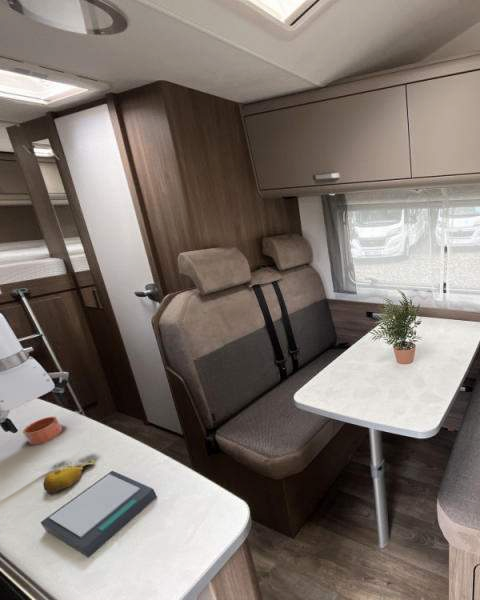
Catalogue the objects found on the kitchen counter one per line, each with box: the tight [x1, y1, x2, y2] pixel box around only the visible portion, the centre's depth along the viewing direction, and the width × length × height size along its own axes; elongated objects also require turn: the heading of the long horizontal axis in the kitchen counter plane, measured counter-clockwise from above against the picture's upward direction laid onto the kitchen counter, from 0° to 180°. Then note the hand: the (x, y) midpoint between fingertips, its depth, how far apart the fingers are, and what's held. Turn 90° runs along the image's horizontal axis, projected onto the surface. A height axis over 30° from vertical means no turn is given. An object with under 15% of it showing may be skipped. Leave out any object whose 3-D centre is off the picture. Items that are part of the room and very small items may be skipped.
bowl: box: [22, 416, 63, 445], centre depth 82 cm, size 6×6×5 cm
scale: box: [40, 470, 158, 558], centre depth 63 cm, size 14×12×3 cm
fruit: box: [42, 459, 96, 495], centre depth 71 cm, size 8×8×4 cm
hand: (39, 417), depth 81 cm, fingers open, 9 cm apart
